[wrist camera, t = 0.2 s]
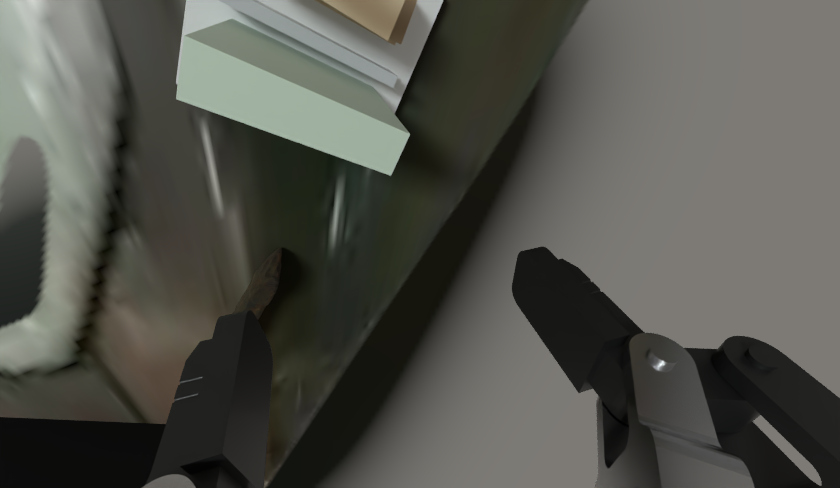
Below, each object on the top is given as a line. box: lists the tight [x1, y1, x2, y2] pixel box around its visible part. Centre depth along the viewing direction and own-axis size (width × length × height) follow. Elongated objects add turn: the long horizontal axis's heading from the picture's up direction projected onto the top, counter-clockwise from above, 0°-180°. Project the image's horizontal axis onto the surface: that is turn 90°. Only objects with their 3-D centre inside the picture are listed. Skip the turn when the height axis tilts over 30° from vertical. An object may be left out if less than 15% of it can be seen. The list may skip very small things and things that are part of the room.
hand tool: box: [233, 248, 282, 320], centre depth 42 cm, size 19×4×5 cm, turn 142°
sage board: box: [176, 19, 410, 176], centre depth 24 cm, size 3×12×14 cm, turn 63°
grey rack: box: [176, 0, 443, 114], centre depth 27 cm, size 16×18×4 cm
